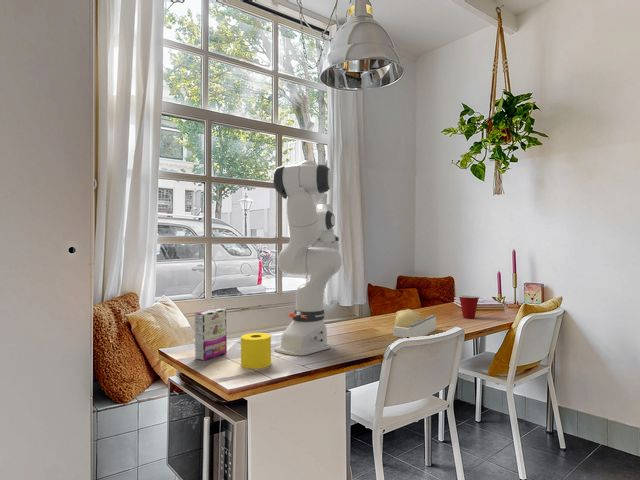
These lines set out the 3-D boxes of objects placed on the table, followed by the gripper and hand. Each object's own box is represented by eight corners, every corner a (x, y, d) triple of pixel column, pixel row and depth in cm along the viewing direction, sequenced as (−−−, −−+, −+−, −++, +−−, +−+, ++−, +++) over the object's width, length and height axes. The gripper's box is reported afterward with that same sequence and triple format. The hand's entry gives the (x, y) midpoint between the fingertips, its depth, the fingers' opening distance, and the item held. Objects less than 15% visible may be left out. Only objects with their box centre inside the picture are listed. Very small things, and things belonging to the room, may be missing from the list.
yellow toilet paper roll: (236, 363, 142) (236, 335, 142) (262, 358, 148) (262, 331, 148) (248, 370, 134) (248, 341, 134) (276, 365, 140) (276, 336, 140)
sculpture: (422, 331, 190) (422, 307, 190) (419, 337, 179) (419, 312, 179) (397, 329, 194) (397, 306, 194) (393, 335, 182) (393, 310, 182)
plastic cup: (481, 317, 224) (481, 295, 224) (477, 320, 215) (477, 297, 215) (461, 315, 230) (461, 293, 230) (456, 318, 221) (456, 295, 221)
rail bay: (413, 341, 171) (413, 325, 171) (388, 338, 177) (388, 322, 177) (435, 329, 194) (435, 315, 194) (413, 326, 200) (413, 312, 200)
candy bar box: (217, 351, 156) (217, 308, 156) (227, 353, 154) (227, 309, 154) (194, 358, 147) (193, 312, 147) (203, 361, 144) (203, 313, 144)
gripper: (317, 237, 189) (317, 268, 189) (341, 238, 206) (341, 265, 206) (306, 237, 193) (306, 267, 193) (330, 238, 210) (330, 265, 210)
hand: (324, 266), depth 200 cm, fingers closed
